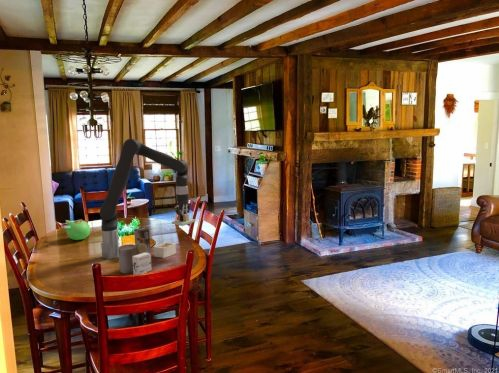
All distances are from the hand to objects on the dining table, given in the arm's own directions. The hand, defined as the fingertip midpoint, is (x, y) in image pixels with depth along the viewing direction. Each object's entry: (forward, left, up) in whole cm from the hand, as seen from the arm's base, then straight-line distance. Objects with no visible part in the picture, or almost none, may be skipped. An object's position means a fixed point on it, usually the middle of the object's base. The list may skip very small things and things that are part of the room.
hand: (183, 220), depth 245 cm
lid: (0, 0, -1) cm, 1 cm away
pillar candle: (-38, +8, -22) cm, 44 cm away
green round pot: (-11, +91, -22) cm, 94 cm away
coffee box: (-13, +23, -22) cm, 34 cm away
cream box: (-7, +10, -21) cm, 25 cm away
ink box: (-40, -5, -22) cm, 46 cm away
